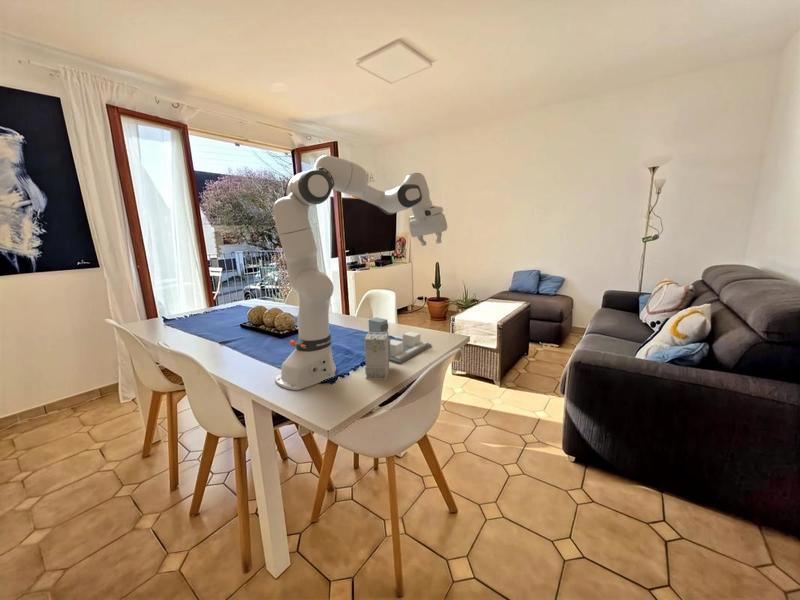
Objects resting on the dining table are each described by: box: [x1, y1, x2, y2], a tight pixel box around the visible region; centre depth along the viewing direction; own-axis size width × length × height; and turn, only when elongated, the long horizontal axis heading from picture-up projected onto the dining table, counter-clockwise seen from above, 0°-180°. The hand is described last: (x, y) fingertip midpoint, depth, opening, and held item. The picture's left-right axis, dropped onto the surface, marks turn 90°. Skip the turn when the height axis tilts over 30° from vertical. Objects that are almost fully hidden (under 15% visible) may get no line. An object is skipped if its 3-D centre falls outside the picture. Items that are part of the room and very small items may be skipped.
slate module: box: [368, 317, 389, 333], centre depth 151 cm, size 5×8×12 cm, turn 53°
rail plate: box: [389, 330, 432, 365], centre depth 143 cm, size 24×14×6 cm, turn 143°
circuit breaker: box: [363, 331, 391, 380], centre depth 123 cm, size 8×14×15 cm, turn 174°
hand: (431, 244), depth 143 cm, fingers open, 8 cm apart
